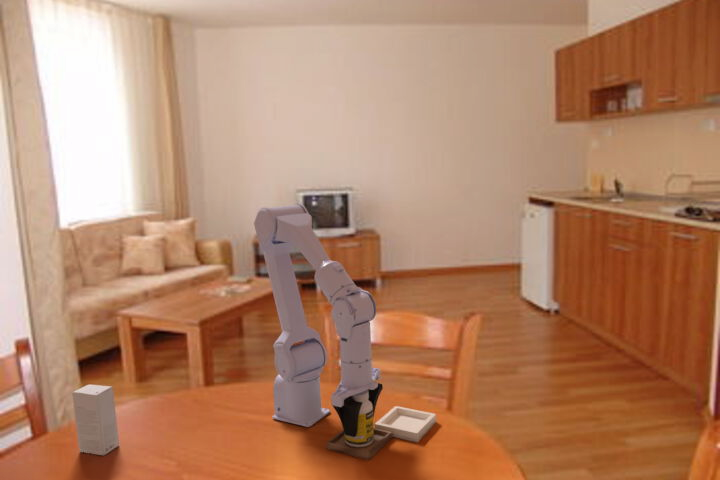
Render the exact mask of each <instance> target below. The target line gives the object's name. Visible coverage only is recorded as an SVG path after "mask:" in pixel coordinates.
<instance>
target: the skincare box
mask: <svg viewBox="0 0 720 480" xmlns="http://www.w3.org/2000/svg"><path fill="white" fill-rule="evenodd" d="M114 395H115V394H114V388H113V386H110V385H108V386H107V385H99V384H90V383H89V384H87V385H85V386H82V387H81V388H79V389H76V390H75V391H73V392H72V399H73V408H74V417H75V424H76V433H77V441H78V449H79V450H78V451H79V453H83V452H84V453H85V454H90V453H91V454H92V455H98V456H106V455H107V454H108V453H110V452H112V451H113V450H115V448H118V447H119V446H120V440H119V431H118V424H117V423H118V422H117V414H116V413H117V412H116V405H115V396H114Z"/></svg>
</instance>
